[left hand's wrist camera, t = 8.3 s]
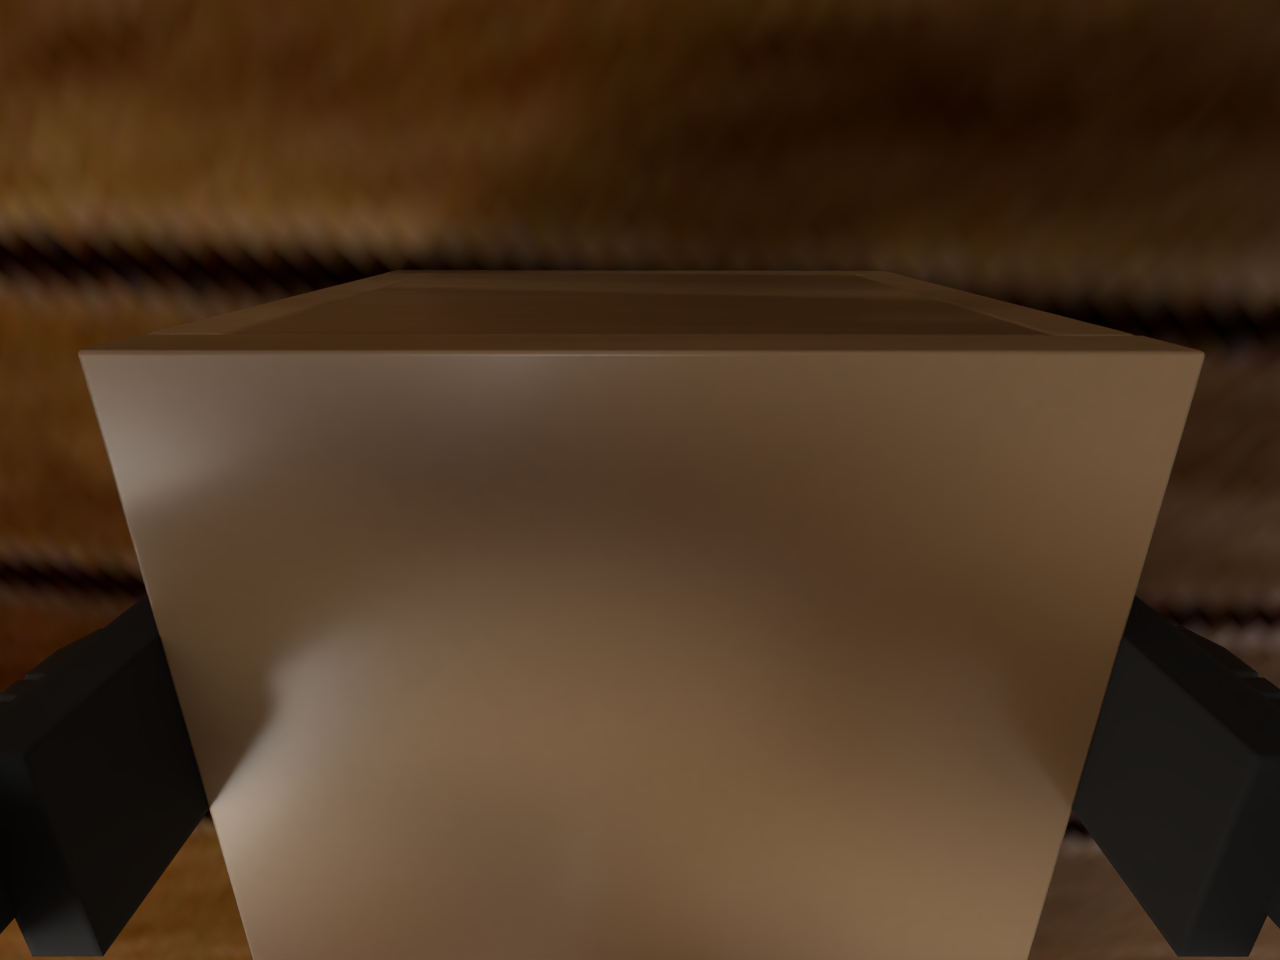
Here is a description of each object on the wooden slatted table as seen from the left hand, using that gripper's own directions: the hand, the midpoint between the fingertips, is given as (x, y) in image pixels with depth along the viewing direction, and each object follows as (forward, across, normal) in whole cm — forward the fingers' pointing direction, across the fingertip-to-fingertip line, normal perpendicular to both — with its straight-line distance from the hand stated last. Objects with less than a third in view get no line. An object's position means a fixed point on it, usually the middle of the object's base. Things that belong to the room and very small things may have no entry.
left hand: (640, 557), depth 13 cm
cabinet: (+5, 0, -6) cm, 8 cm away
